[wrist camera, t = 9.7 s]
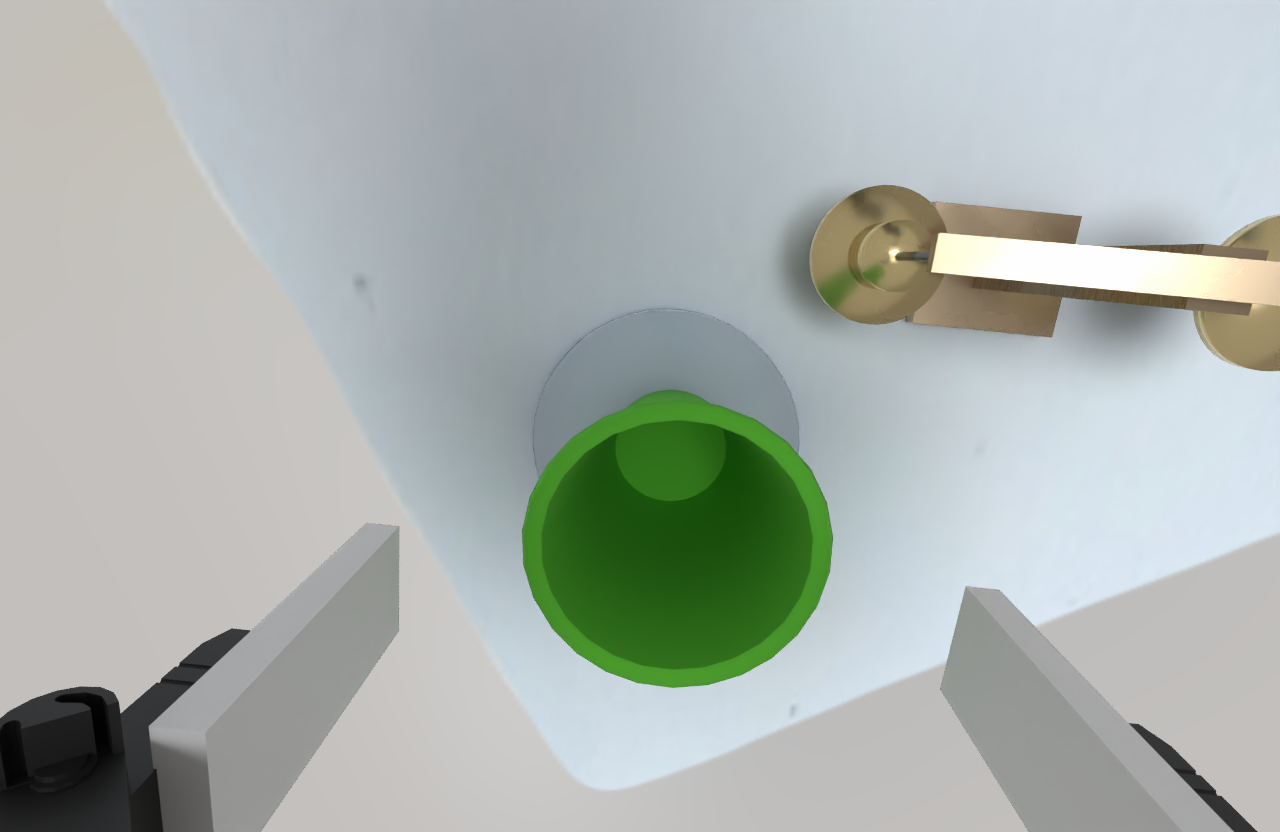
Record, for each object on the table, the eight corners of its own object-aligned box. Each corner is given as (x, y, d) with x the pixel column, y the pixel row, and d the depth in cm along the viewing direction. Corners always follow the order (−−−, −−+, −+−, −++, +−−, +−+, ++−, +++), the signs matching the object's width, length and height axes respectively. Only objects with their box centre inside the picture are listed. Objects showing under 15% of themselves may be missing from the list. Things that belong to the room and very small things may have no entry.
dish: (545, 296, 29) (541, 297, 28) (813, 323, 29) (819, 325, 28) (529, 543, 32) (525, 552, 31) (774, 569, 32) (777, 579, 31)
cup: (752, 548, 31) (802, 707, 20) (560, 523, 31) (507, 669, 20) (788, 360, 28) (865, 426, 18) (581, 332, 28) (534, 382, 18)
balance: (782, 308, 29) (895, 356, 15) (799, 190, 28) (941, 122, 14) (1165, 347, 29) (1642, 433, 15) (1199, 230, 28) (1752, 203, 14)
